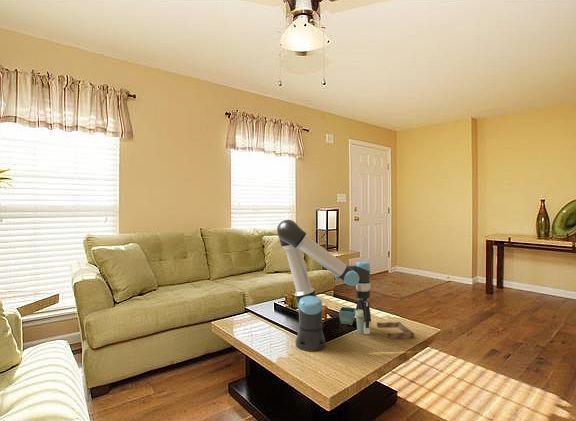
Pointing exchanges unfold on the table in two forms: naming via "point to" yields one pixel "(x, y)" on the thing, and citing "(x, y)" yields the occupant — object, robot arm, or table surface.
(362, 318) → the coffee cup
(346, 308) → the flower pot
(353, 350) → the table surface
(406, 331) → the bay
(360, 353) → the table surface
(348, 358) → the table surface
